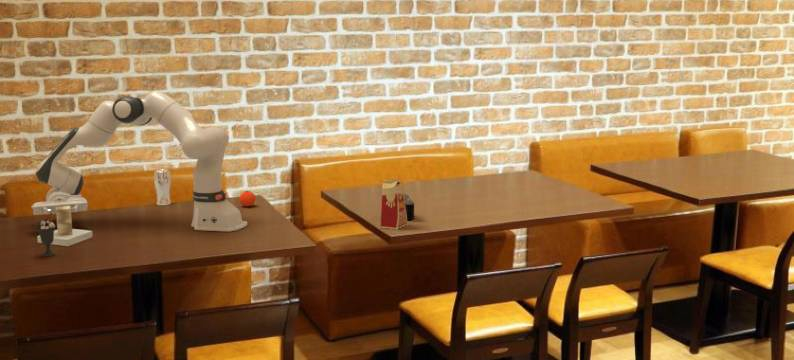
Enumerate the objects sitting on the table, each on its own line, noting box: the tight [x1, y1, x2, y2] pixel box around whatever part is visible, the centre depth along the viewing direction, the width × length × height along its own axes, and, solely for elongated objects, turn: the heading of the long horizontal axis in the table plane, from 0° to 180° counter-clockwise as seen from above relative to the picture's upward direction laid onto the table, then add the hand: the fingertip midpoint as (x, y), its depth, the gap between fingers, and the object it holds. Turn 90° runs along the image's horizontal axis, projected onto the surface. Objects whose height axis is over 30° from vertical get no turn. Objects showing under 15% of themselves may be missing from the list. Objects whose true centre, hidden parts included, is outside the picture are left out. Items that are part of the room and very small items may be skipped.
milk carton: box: [379, 177, 408, 231], centre depth 378 cm, size 9×9×20 cm
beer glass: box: [153, 168, 172, 206], centre depth 419 cm, size 7×7×15 cm
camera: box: [403, 192, 415, 222], centre depth 394 cm, size 15×7×10 cm, turn 33°
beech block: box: [55, 206, 73, 236], centre depth 359 cm, size 5×5×10 cm
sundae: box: [35, 213, 57, 257], centre depth 340 cm, size 7×7×15 cm
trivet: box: [36, 228, 93, 247], centre depth 361 cm, size 14×14×2 cm
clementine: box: [239, 190, 257, 208], centre depth 415 cm, size 8×7×7 cm
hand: (61, 211), depth 365 cm, fingers open, 8 cm apart
